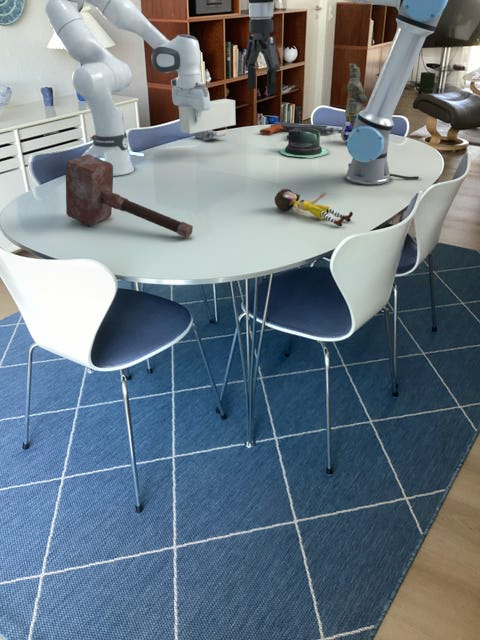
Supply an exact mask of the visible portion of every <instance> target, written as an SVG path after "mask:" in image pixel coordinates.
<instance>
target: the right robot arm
mask: <svg viewBox="0 0 480 640" xmlns="http://www.w3.org/2000/svg"><path fill="white" fill-rule="evenodd" d="M343 1H344V2H346V1H347V2H353V3H354V2H355V3H361V4H370V5H377V6H386V7H387V6H388V7H394V8H396V9H397V11H398V13H397V15H396V18H395V21H396V24H397V29H396V32H395V34H394V36H393V39H392V42H391V45H390V47H389V49H388V52H387V54H386V57H385V60H384V61H383V64H382V67H381V70H380V72H379V74H378V77H377V79H376V82H375V85H374V87H373V90H372V92H371V95H370V97H369V100H368V101H367V105H366V106H365V108H364V109H362V111H360V112H359V113H358V114H357V117H356V122H355V124H354V127H353V130H352V132H351V133H350V134H349V136H348V139H347V140H346V149H347V152H348V154H349V155H350V157H351V158H352V159H351V162H350V163H347V167H348V168H347V172H346V181H348V182H349V183H352V184H357V185H363V186H377V185H383V184H386V183H389V182H390V179H391V177H392V178H393V177H394V178H399V179H405V180H419V178H420V177H419V175H418V176H417V175H416V176H405V175H401V174H395V173H391V172H390V168H389V162H388V149H389V140H390V134H391V132H392V130H393V128H394V125H395V123H394V121H393V115H394V113H395V111H396V108H397V106H398V104H399V102H400V99H401V97H402V95H403V92H404V89H405V87H406V85H407V83H408V80H409V78H410V75H411V73H412V72H413V68H414V66H415V64H416V61H417V59H418V57H419V54H420V52H421V50H422V48H423V46H424V44H425V41H426V38H427V37H428V36H430V35H433V34H434V33H435V31H436V28H437V26H438V24H439V21H440V19H441V17H442V15H443V12H444V10H445V9H446V7H447V4H448V2H449V0H343ZM274 9H275V6H274V0H248V17H249V18H250V19H249V21H248V27H249V28H248V32H249V33H250V34H249V35H248V36H247V46H246V51H245V55H244V61H243V65H244V66H246V68H247V89H248V90H256V89H257V65H256V64H257V61H258V58H259V55H260V53H261V54H262V55H263V60H264V62H265V64H266V68H267V70H266V95H276V83H277V82H276V81H277V80H276V79H277V77H276V73H277V72H278V71H280V69H281V66H280V61H279V57H278V56H279V55H278V52H277V46H276V37H275V36H270V34H271V33H274V20H273V19H272V18H273V17H274Z"/></svg>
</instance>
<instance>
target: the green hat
mask: <svg viewBox="0 0 480 640" xmlns="http://www.w3.org/2000/svg"><path fill="white" fill-rule="evenodd" d="M288 134H289V139H287V140H288V141H287V142H288V143H287V145H286V146H285V147H283V148H281V149H280V150H279V153H280V154H282V155H285V156H289V157H296V158H297V157H298V158H307V159H309V158H310V159H311V158H313V159H314V158H317V157H323V156H326V155H327V154H328V150H326V149H325V148H322V146H321V144H320V142H321V132H319V131H318V130H316V129H311V128H298V129H294V130H291V131H288Z"/></svg>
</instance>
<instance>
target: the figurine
mask: <svg viewBox="0 0 480 640" xmlns="http://www.w3.org/2000/svg"><path fill="white" fill-rule="evenodd" d="M326 196H328V193H327V192H326V191H324V192H323V193H322V192H321V193H320V195H319V197H318V198H316V199H315V200H312V201H306V200H304V199H301V200H300V198H301V195H300V194H299V193H294V192H293V191H292V190H291V189H289V188H283V189H280V190H279V191H278V192H277V193H276V194H275V197H274V204H275V206H276V208H277V209H279V210H281V211H291V210H293V209H295V211H296V212H297V213H299V212H300V210H301V211H306V212H309V213H310V214H311V215H313V216H314V217H316V218H318V219H320V220H323V219H325V220H327V221H328V222H330V223H333V224H335V225H336V226H337V227H342V226H343V224H342V223H343V222H344V221H346V222H348V223H349V222H351V218H352V216H353V215H354V214H353V211H349V213H348V215H346V214H345V215H344V214H342V213H339V212H337V211H336V210H334V209H333V208H331V207H330V206H328V205H321V204H316V203H317V202H318V201H319V200H320V199H323V198H324V197H326ZM330 214H331V215H332V216H334V217H336V218H338V219H334V218H333V217H331V216H330Z"/></svg>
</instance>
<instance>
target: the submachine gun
mask: <svg viewBox="0 0 480 640" xmlns="http://www.w3.org/2000/svg"><path fill="white" fill-rule="evenodd" d="M298 128H311V129H316V130H318V131H319V132H320V133H321V135H322V136H329V135H331V134H333V133H334V131H335V129H334V128H333V127H329V128H328V125H321V124H310V123H298V122H287V121H286V122H285V121H276V122H275V121H274V122H273V124H270V126H269V127H265V128H261V129H260V130H259V134H261V135H265V136H266V135H267V136H270V135H272V134H274V133H278V132H289V131H291V130H294V129H298ZM286 140H289V133H288V134H287V135H286Z"/></svg>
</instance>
